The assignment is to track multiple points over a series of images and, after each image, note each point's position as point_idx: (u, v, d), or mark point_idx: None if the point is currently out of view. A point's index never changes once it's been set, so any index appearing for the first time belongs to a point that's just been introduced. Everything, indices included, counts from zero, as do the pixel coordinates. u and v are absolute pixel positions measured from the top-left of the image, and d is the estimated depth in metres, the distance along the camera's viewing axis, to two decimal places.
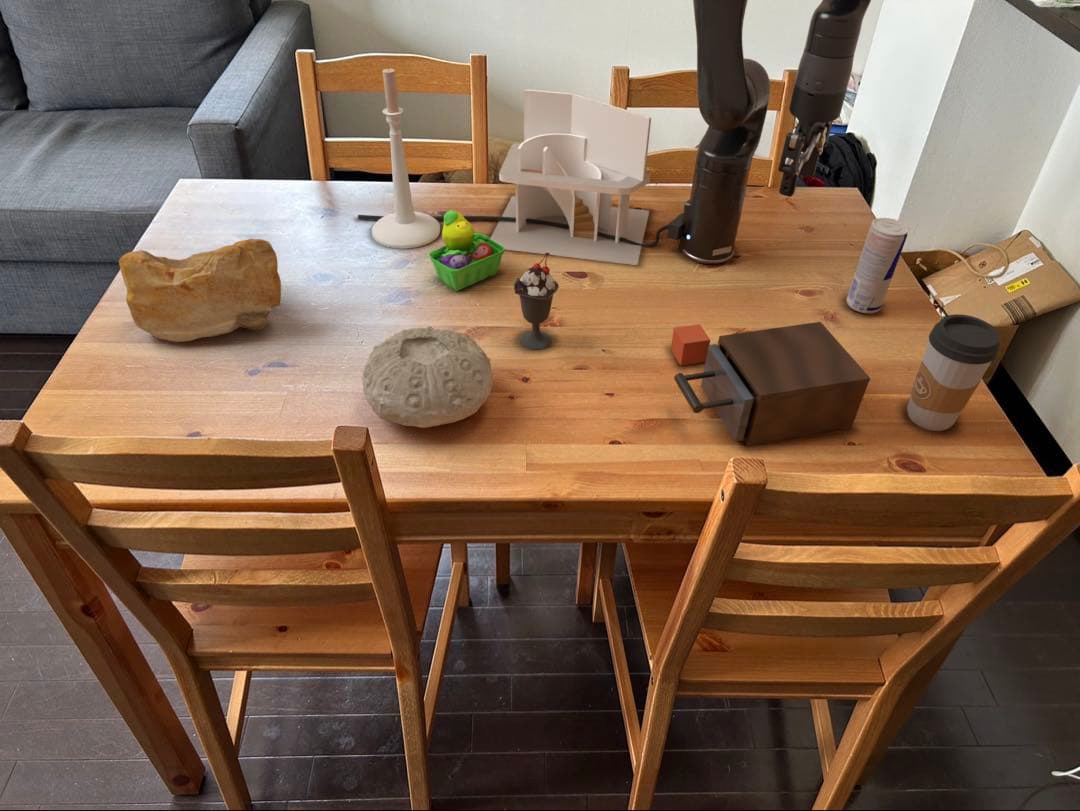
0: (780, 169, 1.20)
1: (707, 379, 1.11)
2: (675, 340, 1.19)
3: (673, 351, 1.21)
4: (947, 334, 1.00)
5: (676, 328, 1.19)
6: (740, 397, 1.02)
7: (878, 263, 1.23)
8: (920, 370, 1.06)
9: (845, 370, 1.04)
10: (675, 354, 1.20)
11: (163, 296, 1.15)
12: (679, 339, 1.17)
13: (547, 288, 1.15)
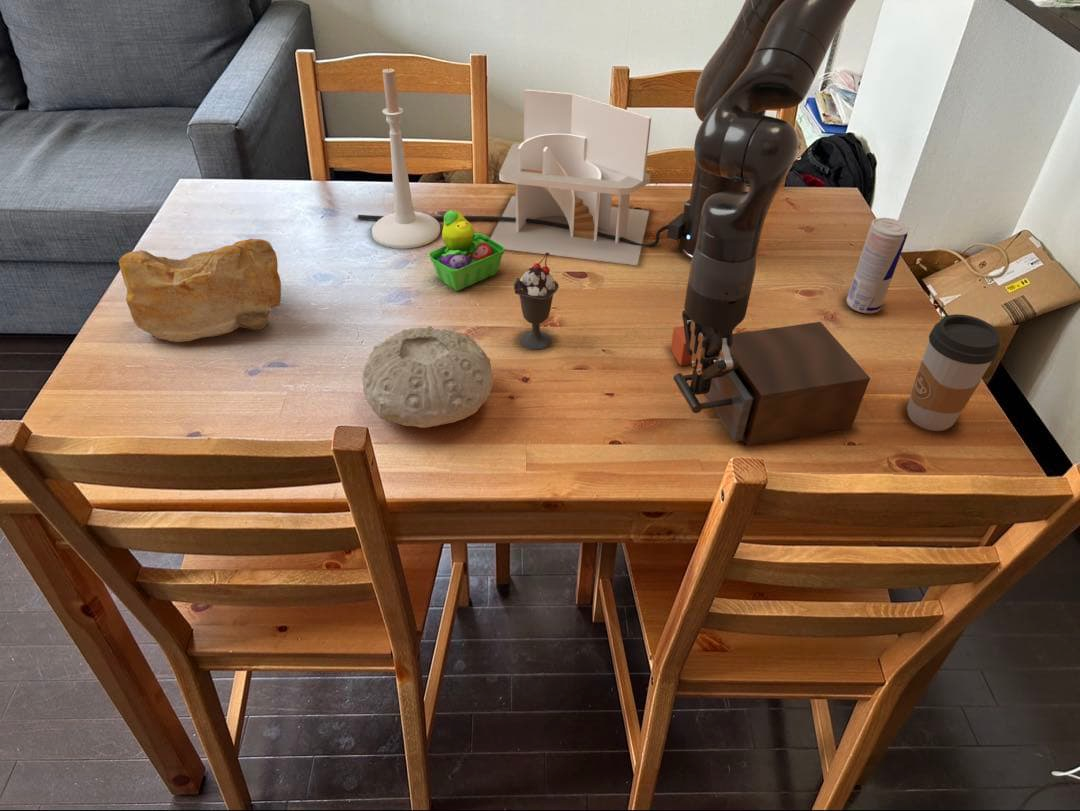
0: (707, 379, 1.00)
1: None
2: (675, 340, 1.19)
3: (673, 351, 1.21)
4: (947, 334, 1.00)
5: (676, 328, 1.19)
6: (739, 397, 1.02)
7: (878, 263, 1.23)
8: (920, 370, 1.06)
9: (845, 370, 1.04)
10: (675, 354, 1.20)
11: (163, 296, 1.15)
12: (679, 339, 1.17)
13: (547, 288, 1.15)
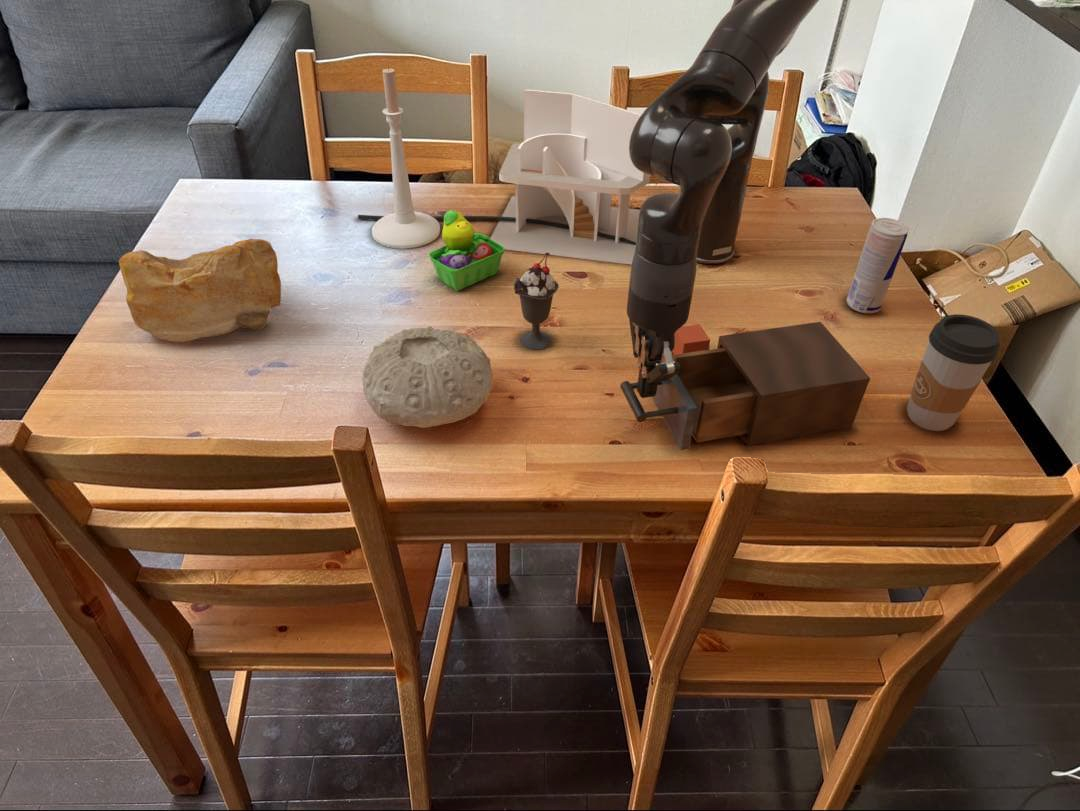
0: (651, 382, 0.99)
1: None
2: (675, 340, 1.19)
3: (673, 351, 1.21)
4: (947, 334, 1.00)
5: None
6: (683, 406, 1.00)
7: (878, 263, 1.23)
8: (920, 370, 1.06)
9: (845, 370, 1.04)
10: (675, 354, 1.20)
11: (163, 296, 1.15)
12: (679, 339, 1.17)
13: (547, 288, 1.15)
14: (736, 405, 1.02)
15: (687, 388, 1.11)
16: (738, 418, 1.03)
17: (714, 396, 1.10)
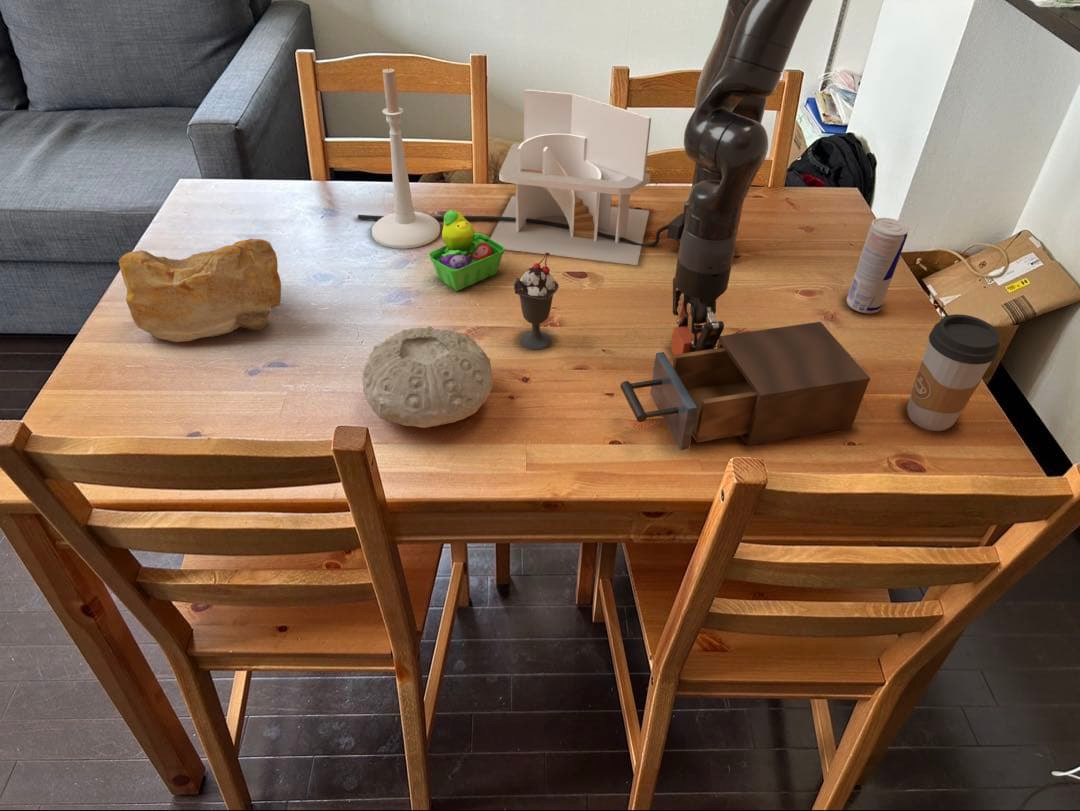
0: (700, 350, 1.13)
1: (655, 387, 1.10)
2: (675, 340, 1.19)
3: (673, 351, 1.21)
4: (947, 334, 1.00)
5: (676, 328, 1.19)
6: (683, 406, 1.00)
7: (878, 263, 1.23)
8: (920, 370, 1.06)
9: (845, 370, 1.04)
10: (675, 354, 1.20)
11: (163, 296, 1.15)
12: (679, 339, 1.17)
13: (547, 288, 1.15)
14: (736, 405, 1.02)
15: (687, 388, 1.11)
16: (738, 418, 1.03)
17: (714, 396, 1.10)
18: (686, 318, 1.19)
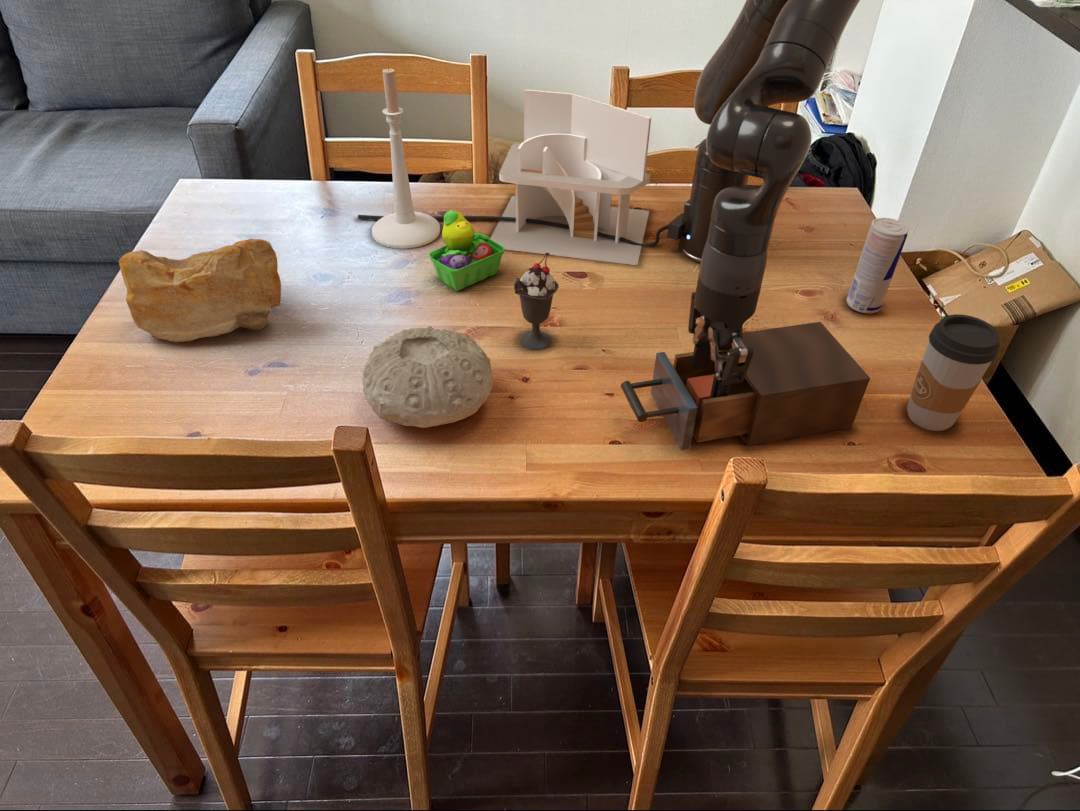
0: (727, 384, 0.97)
1: (656, 387, 1.10)
2: (689, 392, 1.07)
3: None
4: (947, 334, 1.00)
5: (690, 379, 1.06)
6: (684, 406, 1.00)
7: (878, 263, 1.23)
8: (920, 370, 1.06)
9: (845, 370, 1.04)
10: None
11: (163, 296, 1.15)
12: (693, 392, 1.05)
13: (547, 288, 1.15)
14: (737, 405, 1.02)
15: None
16: (739, 418, 1.03)
17: None
18: None
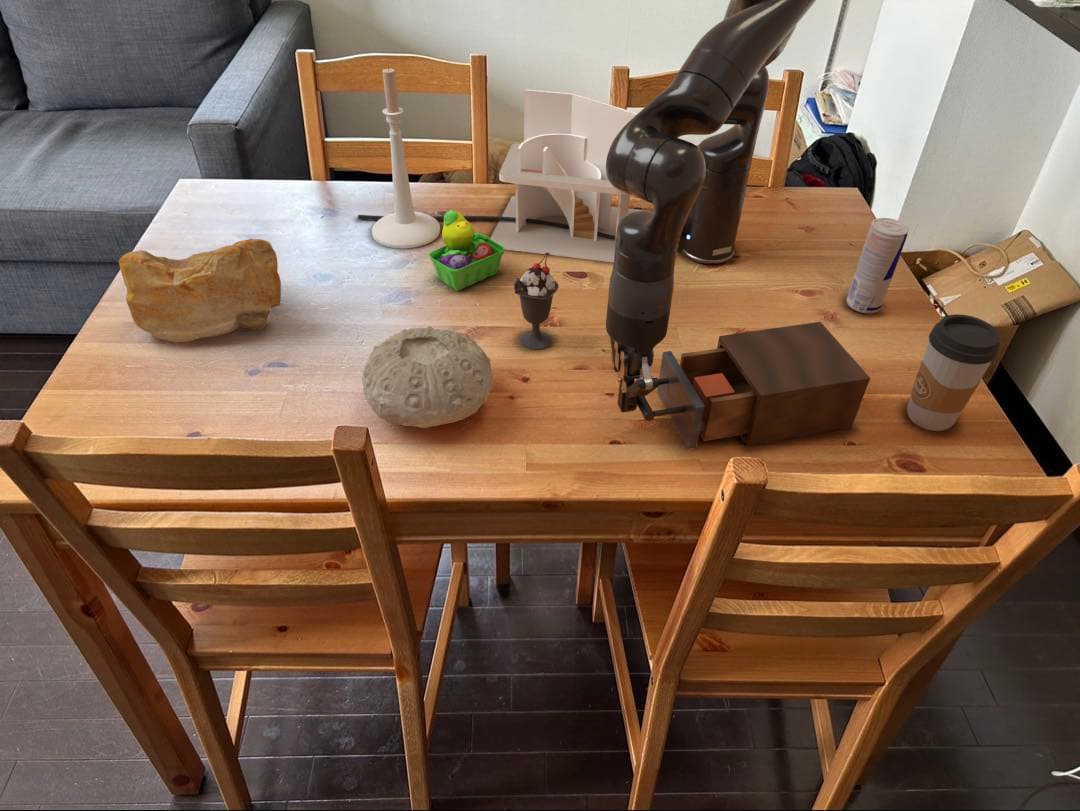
0: (630, 397, 0.99)
1: (662, 386, 1.10)
2: None
3: None
4: (947, 334, 1.00)
5: (696, 378, 1.07)
6: (691, 405, 1.00)
7: (878, 263, 1.23)
8: (920, 370, 1.06)
9: (845, 370, 1.04)
10: None
11: (163, 296, 1.15)
12: (700, 391, 1.05)
13: (547, 288, 1.15)
14: (743, 404, 1.02)
15: None
16: (745, 417, 1.03)
17: None
18: None
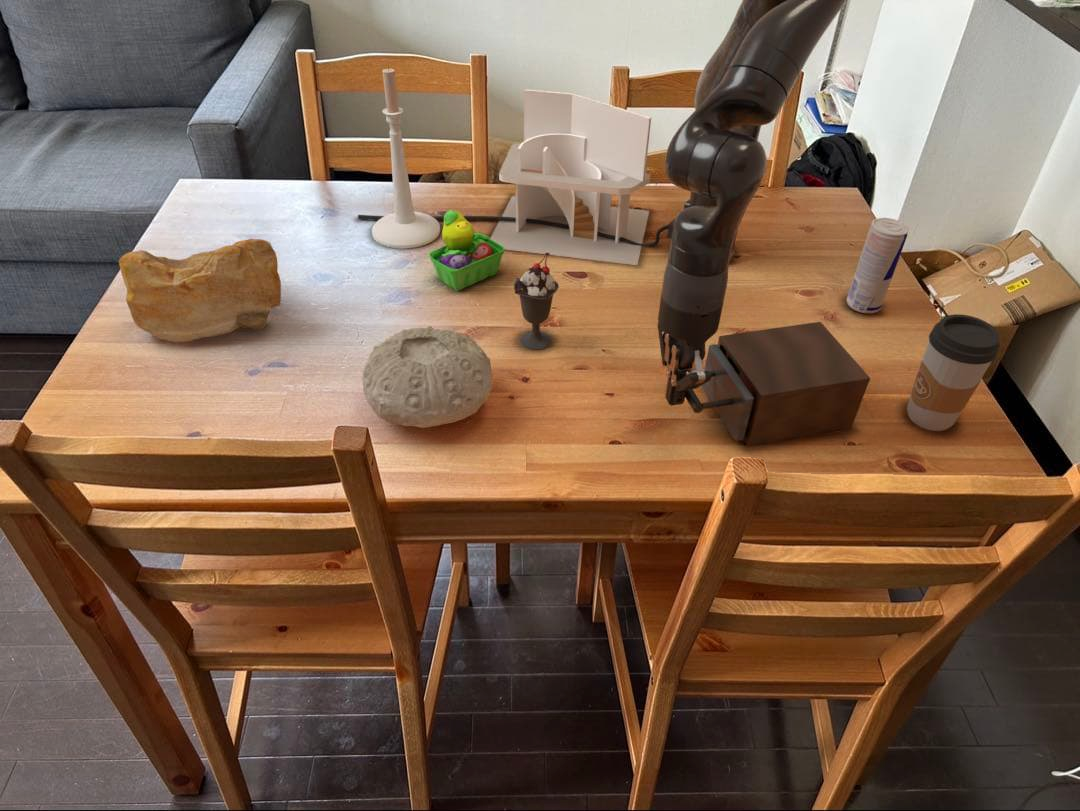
0: (681, 390, 1.01)
1: None
2: None
3: None
4: (947, 334, 1.00)
5: None
6: (740, 397, 1.02)
7: (878, 263, 1.23)
8: (920, 370, 1.06)
9: (845, 370, 1.04)
10: None
11: (163, 296, 1.15)
12: (747, 384, 1.07)
13: (547, 288, 1.15)
14: None
15: None
16: None
17: None
18: None
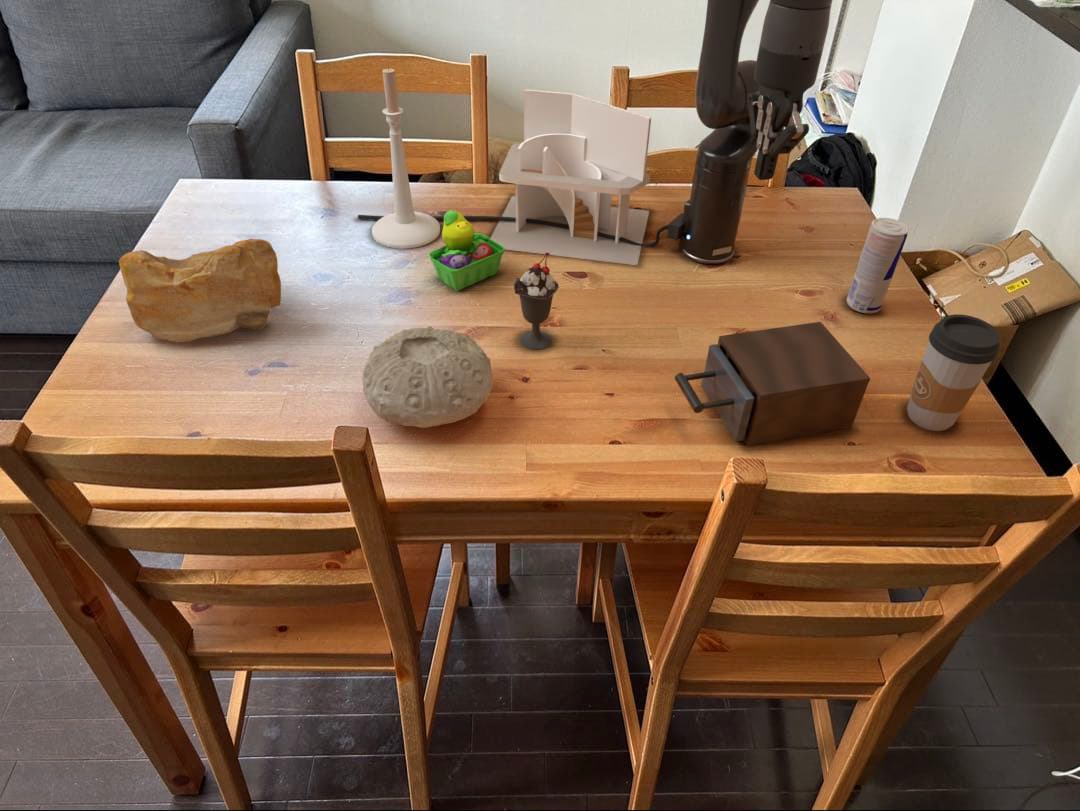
0: (774, 154, 1.01)
1: (708, 379, 1.11)
2: None
3: None
4: (947, 334, 1.00)
5: None
6: (740, 397, 1.02)
7: (878, 263, 1.23)
8: (920, 370, 1.06)
9: (845, 370, 1.04)
10: None
11: (163, 296, 1.15)
12: (747, 384, 1.07)
13: (547, 288, 1.15)
14: None
15: None
16: None
17: None
18: None
